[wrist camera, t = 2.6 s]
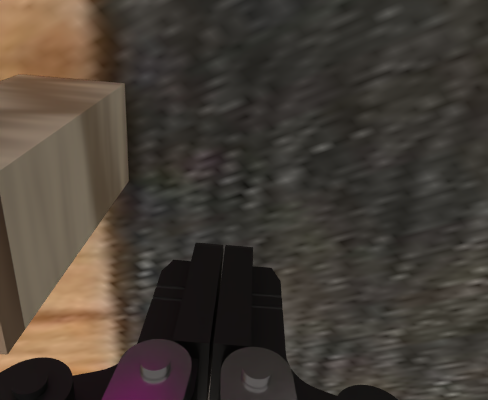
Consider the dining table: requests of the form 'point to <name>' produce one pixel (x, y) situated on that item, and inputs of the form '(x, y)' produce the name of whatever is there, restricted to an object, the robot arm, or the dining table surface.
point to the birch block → (53, 183)
